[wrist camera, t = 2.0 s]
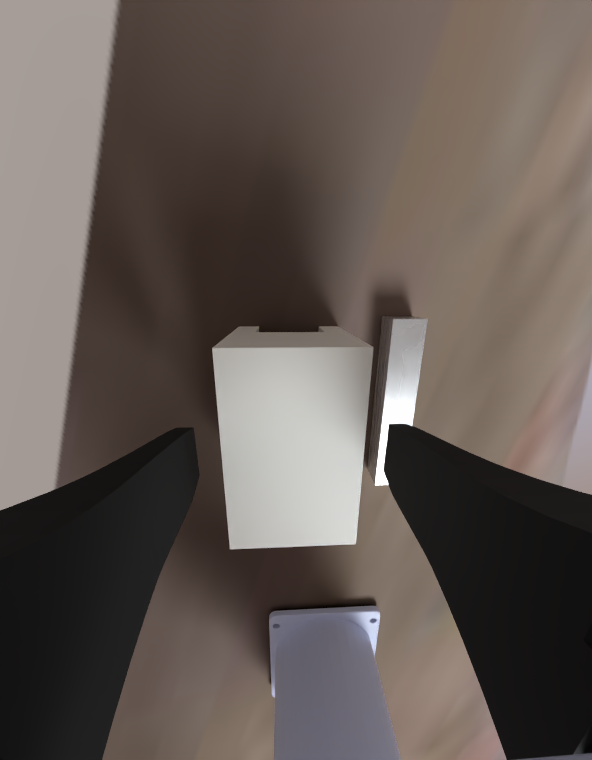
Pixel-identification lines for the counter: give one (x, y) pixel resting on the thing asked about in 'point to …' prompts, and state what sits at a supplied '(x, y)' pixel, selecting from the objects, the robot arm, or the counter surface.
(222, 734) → the counter surface
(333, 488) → the cabinet block
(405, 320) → the rail
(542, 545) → the robot arm
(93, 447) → the counter surface
